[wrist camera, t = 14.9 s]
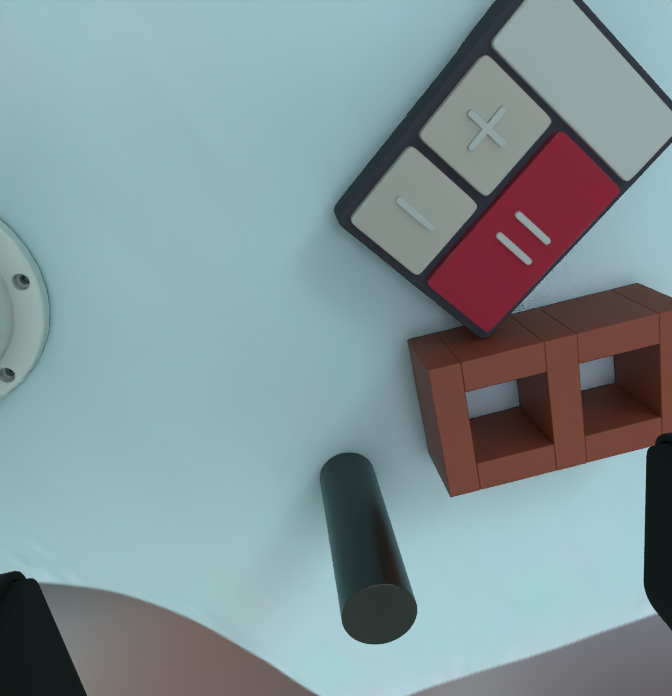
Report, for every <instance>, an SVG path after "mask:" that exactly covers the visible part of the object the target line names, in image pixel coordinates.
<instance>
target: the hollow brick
mask: <svg viewBox="0 0 672 696" xmlns="http://www.w3.org/2000/svg"><path fill="white" fill-rule="evenodd" d="M408 346H409V351H410V356H411V361H412V367H413V372H414V377H415V383H416V388H417V393H418V399H419V404H420V409H421V415H422V420H423V425H424V430H425V436H426V441H427V446H428V452H429V455H430V457H431V459H432V461H433V463H434V465H435V467H436V469H437V471H438V473H439V475H440V477H441V479H442V481H443V483H444V485H445V487H446V489H447V491H448V493H449V495H450V497H454V496H458V495H462V494H466V493H470V492H474V491H478V490H480V489H485V488H489V487H493V486H497V485H501V484H505V483H509V482H513V481H517V480H521V479H524V478H528V477H532V476H536V475H540V474H544V473H548V472H552V471H556V470H561V469H565V468H569V467H573V466H577V465H580V464H584V463H586V462H591V461H595V460H599V459H603V458H607V457H611V456H615V455H619V454H623V453H627V452H630V451H634V450H638V449H642V448H646V447H650V446H654V445H655V441H656V439H657V437H658V436H660V435H661V434H665V433H670V432H672V297H669V296H667V295H665V294H662V293H660V292H658V291H655V290H653V289H651V288H648V287H646V286H644V285H641V284H639V283H636V284H632V285H628V286H624V287H620V288H616V289H612V290H608V291H604V292H600V293H596V294H592V295H588V296H584V297H580V298H576V299H572V300H568V301H564V302H560V303H556V304H551V305H547V306H543V307H539V308H535V309H530V310H526V311H522V312H518V313H514V314H510V315H509V316H508V317H507V318H506V319H505V320H504V321H503V322H502V323H501V324H500V326H499V327H498V328H497V329H496V330H495V331H494V332H493V333H492V334H491V335H490V336H489V337H487V338H480V337H478V336H477V335H475V334H474V333H473V332H472V331H470V330H469V329H468V328H467V327H465V326H462V327H458V328H454V329H450V330H446V331H442V332H438V333H434V334H430V335H426V336H422V337H418V338H414V339H410V340H408ZM612 355H614V364H615V382H616V384H615V383H614V384H610V385H606V386H602V387H598V388H594V389H590V390H586V391H582V392H581V387H580V374H579V363H584V362H588V361H592V360H596V359H600V358H604V357H608V356H612ZM516 379H517V383H518V391H519V399H520V407H518V408H514V409H510V410H506V411H502V412H498V413H494V414H490V415H486V416H482V417H478V418H474V419H470V420H469V415H468V408H467V402H466V396H465V392H468V391H472V390H476V389H480V388H484V387H488V386H492V385H496V384H500V383H504V382H508V381H512V380H516Z"/></svg>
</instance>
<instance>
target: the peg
mask: <svg viewBox="0 0 672 696" xmlns="http://www.w3.org/2000/svg"><path fill="white" fill-rule="evenodd" d="M320 484H321V490H322V497H323V503H324V509H325V516H326V522H327V529H328V535H329V542H330V548H331V555H332V561H333V567H334V574H335V580H336V587H337V593H338V600H339V606H340V613H341V619H342V624H343V627H344V629H345V631H346V632H347V633H348V634H349V635H350V636H351V637H352V638H354V639H355V640H357V641H359V642H362V643H366V644H384V643H388V642H391V641H393V640H396V639H398V638H399V637H401V636H402V635H404V634H405V633H406V632H407V631H408V630H409V629H410V628H411V626H412V625H413V623H414V621H415V619H416V615H417V604H416V601H415V598H414V595H413V591H412V588H411V585H410V582H409V579H408V576H407V573H406V569H405V566H404V563H403V560H402V557H401V554H400V550H399V547H398V544H397V541H396V538H395V535H394V531H393V528H392V525H391V522H390V519H389V516H388V512H387V509H386V506H385V503H384V500H383V497H382V493H381V490H380V487H379V484H378V481H377V478H376V474H375V471H374V468H373V466H372V464H371V463H370V462H369V460H368V459H366V458H365V457H363V456H361V455H359V454H355V453H343V454H340V455H337V456H335V457H333V458H331V459H330V460H329V461H328V462H327V463H326V464H325V465H324V467H323V469H322V471H321V474H320Z"/></svg>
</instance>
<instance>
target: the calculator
mask: <svg viewBox="0 0 672 696" xmlns="http://www.w3.org/2000/svg"><path fill="white" fill-rule="evenodd" d="M671 143H672V101H671V99H670V98H669V97H668V96H667V95H666V94H665V93H664V92H663V90H662V89H661V88H660V87H659V86H658V85H657V84H656V83H655V81H654V80H653V79H652V78H651V77H650V76H649V75H648V74H647V72H646V71H645V70H644V69H643V68H642V67H641V66H640V65H639V63H638V62H637V61H636V60H635V59H634V58H633V57H632V56H631V54H630V53H629V52H628V51H627V50H626V49H625V48H624V47H623V45H622V44H621V43H620V42H619V41H618V40H617V39H616V38H615V36H614V35H613V34H612V33H611V32H610V31H609V30H608V29H607V28H606V26H605V25H604V24H603V23H602V22H601V21H600V20H599V19H598V17H597V16H596V15H595V14H594V13H593V12H592V11H591V10H590V8H589V7H588V6H587V5H586V4H585V3H584V2H583V1H582V0H496V1H495V2H494V4H493V5H492V6H491V7H490V9H489V10H488V11H487V13H486V14H485V15H484V16H483V18H482V19H481V20H480V21H479V23H478V24H477V25H476V26H475V28H474V29H473V30H472V31H471V33H470V34H469V35H468V37H467V38H466V40H465V41H464V43H463V44H462V46H461V47H460V49H459V51H458V52H457V53H456V54H455V56H454V57H453V58H452V59H451V61H450V62H449V63H448V64H447V66H446V67H445V68H444V69H443V71H442V72H441V73H440V75H439V76H438V77H437V78H436V80H435V81H434V82H433V83H432V85H431V86H430V87H429V88H428V90H427V91H426V92H425V93H424V95H423V96H422V97H421V98H420V100H419V101H418V102H417V103H416V105H415V106H414V107H413V108H412V110H411V111H410V112H409V113H408V115H407V116H406V117H405V118H404V120H403V121H402V122H401V123H400V125H399V126H398V127H397V128H396V130H395V131H394V132H393V133H392V135H391V136H390V137H389V139H388V140H387V141H386V142H385V144H384V145H383V146H382V147H381V149H380V150H379V151H378V152H377V154H376V155H375V156H374V157H373V159H372V160H371V161H370V162H369V164H368V165H367V166H366V167H365V169H364V170H363V171H362V172H361V174H360V175H359V176H358V177H357V179H356V180H355V181H354V182H353V184H352V185H351V186H350V187H349V189H348V190H347V191H346V192H345V194H344V195H343V196H342V197H341V199H340V200H339V201H338V203H337V204H336V205H335V208H334V212H335V215H336V217H337V220H338V222H339V224H340V225H341V226H342V227H343V228H344V229H346V230H347V231H348V232H349V233H350V234H352V235H353V236H354V237H355V238H357V239H358V240H359V241H360V242H362V243H363V244H364V245H365V246H367V247H368V248H369V249H370V250H371V251H373V252H374V253H375V254H376V255H378V256H379V257H380V258H381V259H383V260H384V261H385V262H386V263H388V264H389V265H390V266H391V267H392V268H394V269H395V270H396V271H397V272H399V273H400V274H401V275H402V276H404V277H405V278H406V279H407V280H409V281H410V282H411V283H412V284H413V285H415V286H416V287H417V288H418V289H420V290H421V291H422V292H423V293H425V294H426V295H427V296H428V297H430V298H431V299H432V300H433V301H434V302H436V303H437V304H438V305H439V306H441V307H442V308H443V309H444V310H446V311H447V312H448V313H449V314H451V315H452V316H453V317H454V318H455V319H457V320H458V321H459V322H460V323H462V324H463V325H464V326H465V327H467V328H468V329H469V330H470V331H472V332H473V333H474V334H475V335H477V336H478V337H480V338H487V337H489V336H490V335H491V334H492V333H493V332H494V331H495V330H496V329H497V328H498V327H499V326H500V324H501V323H502V322H503V321H504V320H505V319H506V318H507V317H508V316H509V315H510V314H511V313H512V312H513V311H514V310H515V309H516V307H517V306H518V305H519V304H520V303H521V302H522V301H523V300H524V299H525V298H526V297H527V296H528V295H529V294H530V293H531V292H532V290H533V289H534V288H535V287H536V286H537V285H538V284H539V283H540V282H541V281H542V280H543V279H544V278H545V277H546V276H547V275H548V273H549V272H550V271H551V270H552V269H553V268H554V267H555V266H556V265H557V264H558V263H559V262H560V261H561V260H562V259H563V258H564V256H565V255H566V254H567V253H568V252H569V251H570V250H571V249H572V248H573V247H574V246H575V245H576V244H577V243H578V242H579V241H580V239H581V238H582V237H583V236H584V235H585V234H586V233H587V232H588V231H589V230H590V229H591V228H592V227H593V226H594V225H595V224H596V222H597V221H598V220H599V219H600V218H601V217H602V216H603V215H604V214H605V213H606V212H607V211H608V210H609V209H610V208H611V207H612V206H613V204H614V203H615V202H616V201H617V200H618V199H619V198H620V197H621V196H622V195H623V194H624V193H625V192H626V191H627V190H628V189H629V187H630V186H631V185H632V184H633V183H634V182H635V181H636V180H637V179H638V178H639V177H640V176H641V175H642V174H643V173H644V172H645V170H646V169H647V168H648V167H649V166H650V165H651V164H652V163H653V162H654V161H655V160H656V159H657V158H658V157H659V156H660V155H661V153H662V152H663V151H664V150H665V149H666V148H667V147H668V146H669V145H670V144H671Z"/></svg>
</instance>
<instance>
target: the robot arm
mask: <svg viewBox="0 0 672 696" xmlns="http://www.w3.org/2000/svg"><path fill="white" fill-rule="evenodd" d="M23 275H25V276H27V278H28V279H29V282H25V281H24V280H23V277H22V276H23ZM49 319H50V308H49V301H48V295H47V289H46V287H45V284H44V281H43V278H42V275H41V272H40V270H39V268H38V266H37V264H36V263H35V261H34V259H33V257H32V256H31V254H30V252H29V250H28V249H27V248H26V246H25V245H24V244H23V243H22V242H21V240H20V239H19V238H18V237H17V236H16V234H15V233H14V232H13V231H12V230H11V229H10V228H9V227H8V226H7V225H6V224H4V223H3V222H2V221H1V220H0V398H1V397H3V396H5V395H7V394H8V393H9V392H10V391H11V390H13V389H14V388H15V387H16V386H17V385H18V384H19V383H20V382H22V381H23V379H24V378H25V377H26V376H27V375H28V374H29V373H30V371H31V370H32V369H33V368H34V366H35V365H36V363H37V361H38V359H39V357H40V356H41V354H42V352H43V350H44V346H45V343H46V339H47V336H48V332H49ZM9 369H11V370H12V371H13V372H14V373H12V372H10V371H9ZM644 588H645V592H646V594H647V597H648V599H649V601H650V603H651V605H652V606H653V608H654V609H655V610H656V612H657V613H658V614H659V615H660V617H661V618H662V619H663V620H664V622H665V623H666V624H667V625H668V626H669V628H670V629H671V630H672V432H670V433H665V434H661V435H660V436H658V437H657V439H656V441H655V446H651V447H650V448H649V449H648V451H647V456H646V502H645V547H644ZM0 696H87V694H86V692H85V690H84V688H83V685H82V683H81V681H80V678H79V676H78V674H77V671H76V669H75V667H74V665H73V662H72V660H71V657H70V655H69V653H68V651H67V648H66V646H65V644H64V642H63V639H62V637H61V634H60V632H59V630H58V628H57V625H56V623H55V621H54V618H53V616H52V614H51V611H50V609H49V607H48V605H47V602H46V600H45V598H44V595H43V593H42V591H41V588H40V586H39V584H38V583H37V581H36V580H35V579H32V578H29V579H26V578H25V576H24V575H23V574H22V573H21V572H18V571H13V572H8V573H3V574H0Z"/></svg>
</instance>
